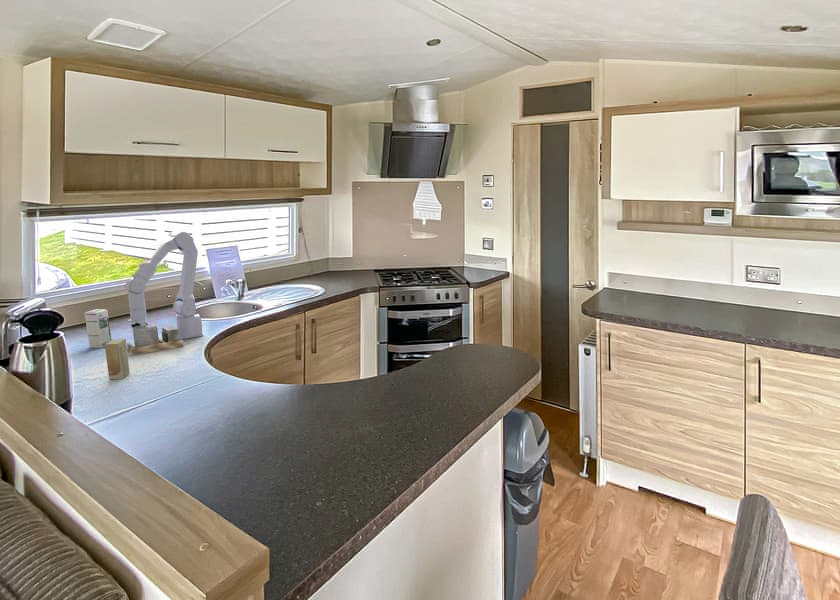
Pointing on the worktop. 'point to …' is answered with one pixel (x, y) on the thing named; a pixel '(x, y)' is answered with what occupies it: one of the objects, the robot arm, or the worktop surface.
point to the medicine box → (145, 335)
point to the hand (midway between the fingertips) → (141, 341)
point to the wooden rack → (160, 342)
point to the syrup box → (98, 328)
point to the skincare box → (117, 358)
